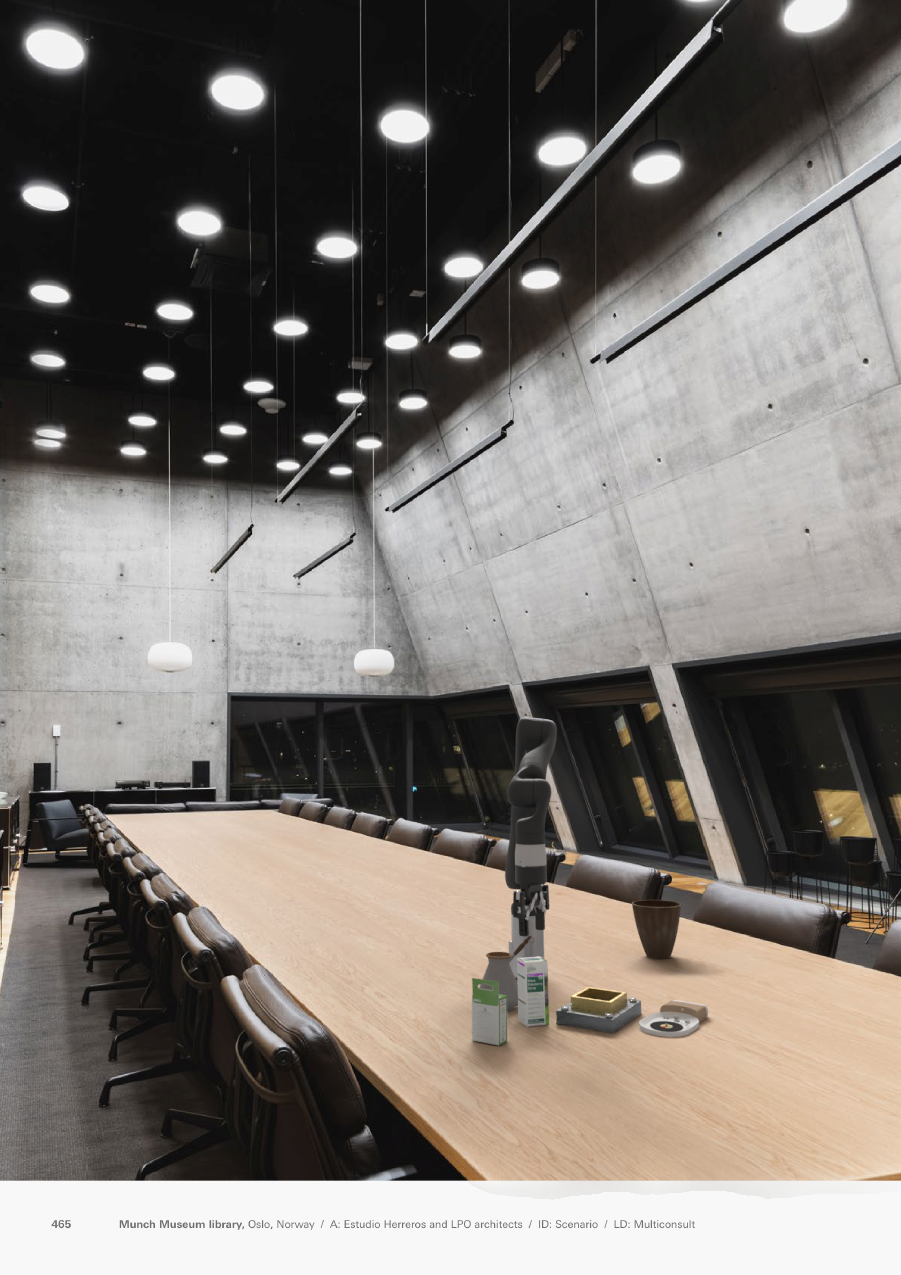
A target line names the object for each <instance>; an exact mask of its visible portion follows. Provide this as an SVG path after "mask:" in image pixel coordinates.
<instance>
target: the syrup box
mask: <svg viewBox="0 0 901 1275" xmlns="http://www.w3.org/2000/svg"><path fill="white" fill-rule="evenodd" d="M548 966H549V965H548V960H546V959H545V957H544V958H542V957H539V956H537V957H526V958H517V978H516V979H517V984H518V1006H517V1009H518V1011H517V1013H518V1021H519V1023H521V1024H523V1025H524V1026H525V1027H527V1028H529V1027H538V1026H540V1027H541V1026H549V1025H550V1009H549V1008H550V1006H549V1004H550V1003H549V968H548Z"/></svg>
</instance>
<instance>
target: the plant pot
mask: <svg viewBox="0 0 901 1275" xmlns="http://www.w3.org/2000/svg"><path fill="white" fill-rule="evenodd" d="M631 904H632V911H633V917H634V921H635V925H636V929H637V933H638V937H639V940H640V943H641V945H642V946H641V947H642V948H643V950H644V953H645V956H646V957H647V958H650V959H657V960H658V959H659V960H660V959H661V960H663V959H670V958H671V957H672V953H673V951H674V948H675V943H676V940H677V934H678V930H679V924H680V918H681V907H682V904H681V903H680V902H677V901H672V900H664V899H663V900H662V899H642V900H635V901H632V902H631Z"/></svg>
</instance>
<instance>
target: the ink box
mask: <svg viewBox="0 0 901 1275" xmlns="http://www.w3.org/2000/svg"><path fill="white" fill-rule="evenodd" d="M480 984H487V985H490V986H492V987H493V990H488V989H481V988H479V986H480ZM471 985H472V987H471V988H472V995H471V1014H472V1015H471V1020H472V1021H471V1022H472V1023H471V1028H472V1029H471V1036H472V1037H471V1038H472V1039H471V1040H472V1041H474V1042H479V1043H484V1044H489V1045H493V1046H494V1045H495V1046H501V1045H503V1044H506V1043H507V1042H508V1012H507V995H501V994H499V982H498V981H491V980H483V978H475V977H472V978H471Z"/></svg>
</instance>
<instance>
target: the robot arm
mask: <svg viewBox="0 0 901 1275" xmlns="http://www.w3.org/2000/svg"><path fill="white" fill-rule="evenodd" d="M515 729H516V732H515V761H514V762H515V764H514V765H515V766H514V768H515V769H514V776H513V777H512V779H511V780H510V782H509V785H508V787H507V790H506V798H507V800H508V802H509V804H510V805H511V810H510V812H511V813H510V830H509V842H508V846H507V847H508V848H507V853H506V860H505V867H504V868H505V869H504V879H505V884H506V886H507V888H508V889H510V890H513V894H512V896H513V897H512V898H513V899H512V900H513V902H512V903H511V906H510V912H511V913H510V915H511V916H510V921H511V922H510V923H511V928H510V929H511V931H510V932H511V940H509V941H508V953H510V954H511V955H512V954H513V953H514V952H515V950H516V949H517V948H518V946H519V945H520V944H521V943H523V942H524V939H527V937H528V936H531V937H533V938H534V939H533V938H531V939H530V940H529V941H530V942H534V940H535V942H534V943H530V942H529V941H528V943H527V944H526V945H525V946H524V948H523V949H522V950H521V951H520V952H519V953H518V954H517V955H516V956H515V957H514V958H513V959H512V960H511V962H510V963H509V964H510V967H511V969H512V972H513V974H514V976H515V979H517V958H526V957H537V956H539V957H542V958H544V959H545V930H546V914H547V911H548V910H550V890H549V885H548V884H547V883H548V874H547V873H548V872H547V871H548V870H547V851H546V850H547V849H546V837H545V836H546V830H545V829H546V826H545V825H546V819H547V813H548V809H549V805H550V801H551V797H552V787H551V785H550V783H549V781H547V772H548V765H549V763H550V761H551V758H552V756H553V753H554V751H555V748H556V744H557V734H558V733H557V732H558V729H557V724H556V722H554V721H553V720H550V719H545V718H537V717H529V716H528V717H527V716H526V717H525V716H523V717H521V718H519V720H518V721H517V725H516V728H515Z"/></svg>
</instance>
